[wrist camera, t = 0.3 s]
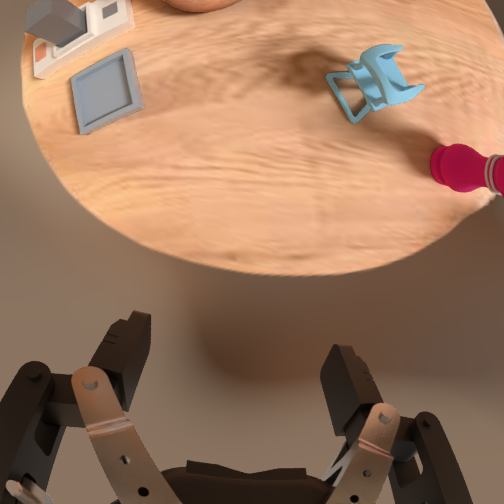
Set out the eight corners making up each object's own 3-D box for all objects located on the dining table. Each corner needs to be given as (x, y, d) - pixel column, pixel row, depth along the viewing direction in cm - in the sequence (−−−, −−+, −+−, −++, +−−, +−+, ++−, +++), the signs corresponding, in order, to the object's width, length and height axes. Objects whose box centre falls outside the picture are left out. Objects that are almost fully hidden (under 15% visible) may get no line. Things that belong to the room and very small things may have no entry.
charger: (85, 13, 25) (52, -10, 16) (87, 33, 27) (51, 12, 17) (62, 27, 26) (26, 9, 16) (63, 47, 27) (25, 31, 18)
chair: (395, 104, 33) (442, 91, 22) (351, 124, 35) (390, 114, 23) (370, 59, 31) (409, 31, 20) (323, 76, 33) (352, 47, 21)
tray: (77, 80, 32) (70, 77, 30) (132, 51, 31) (126, 47, 29) (87, 135, 35) (80, 134, 33) (144, 108, 34) (139, 106, 32)
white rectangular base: (129, -6, 27) (120, -17, 23) (135, 28, 29) (124, 18, 26) (42, 45, 28) (29, 40, 25) (44, 79, 31) (29, 76, 27)
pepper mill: (429, 189, 37) (523, 220, 18) (425, 143, 35) (522, 148, 16) (461, 186, 37) (550, 213, 18) (457, 143, 35) (550, 151, 16)
